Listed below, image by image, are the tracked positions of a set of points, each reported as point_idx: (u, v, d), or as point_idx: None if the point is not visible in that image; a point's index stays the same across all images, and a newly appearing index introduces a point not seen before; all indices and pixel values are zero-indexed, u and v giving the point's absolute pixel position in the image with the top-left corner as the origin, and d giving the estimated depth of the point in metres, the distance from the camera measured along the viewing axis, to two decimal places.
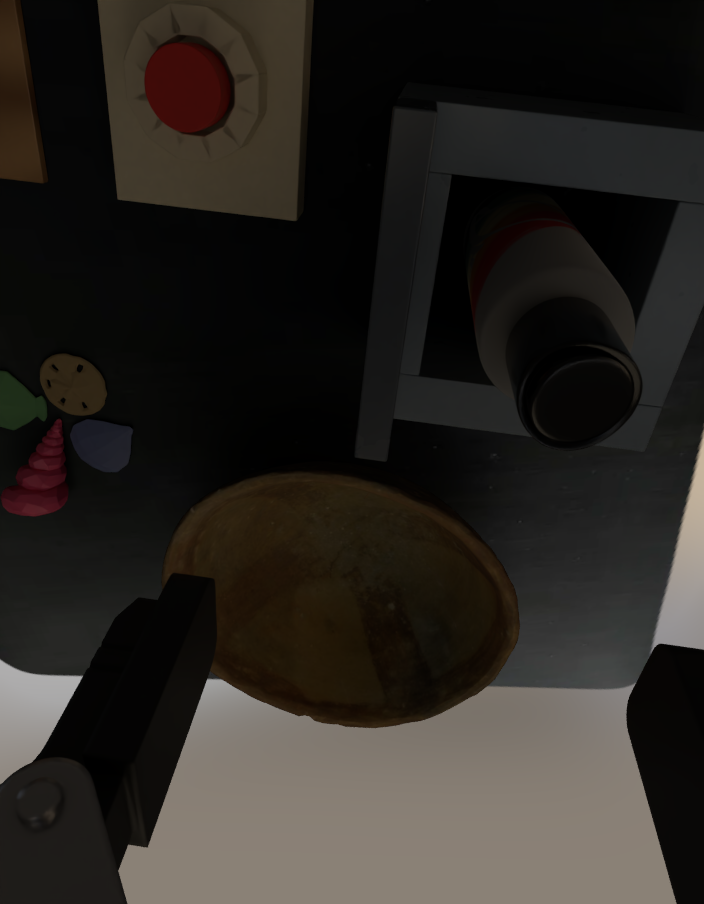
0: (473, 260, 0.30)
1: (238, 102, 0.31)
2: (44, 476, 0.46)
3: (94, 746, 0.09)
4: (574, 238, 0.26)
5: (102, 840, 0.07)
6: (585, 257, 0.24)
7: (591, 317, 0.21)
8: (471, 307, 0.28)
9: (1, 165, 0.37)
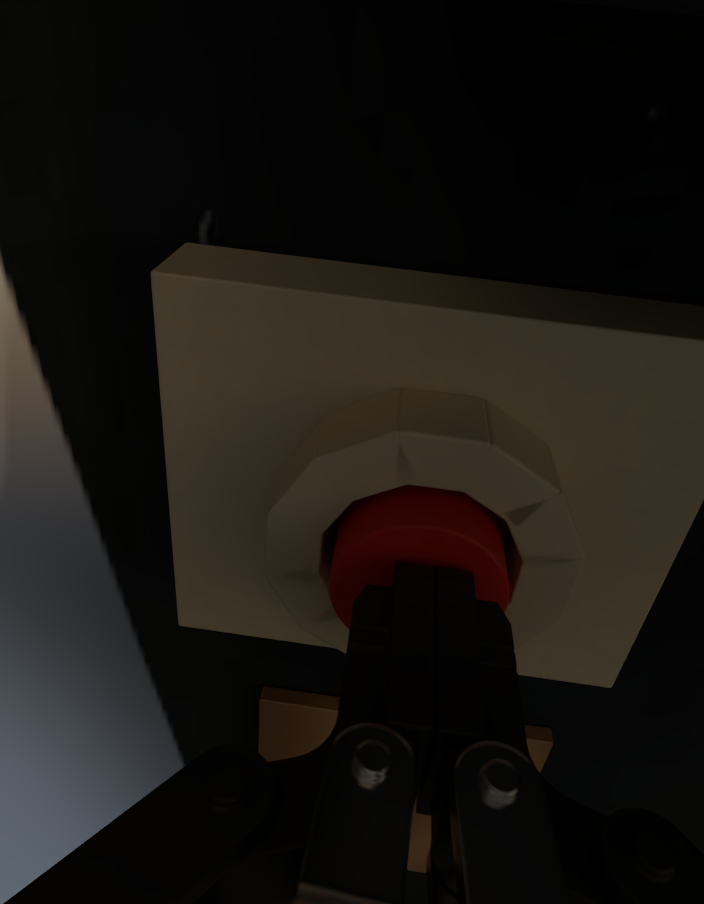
0: None
1: (456, 483, 0.12)
2: None
3: (393, 716, 0.09)
4: None
5: (404, 830, 0.08)
6: None
7: None
8: None
9: None
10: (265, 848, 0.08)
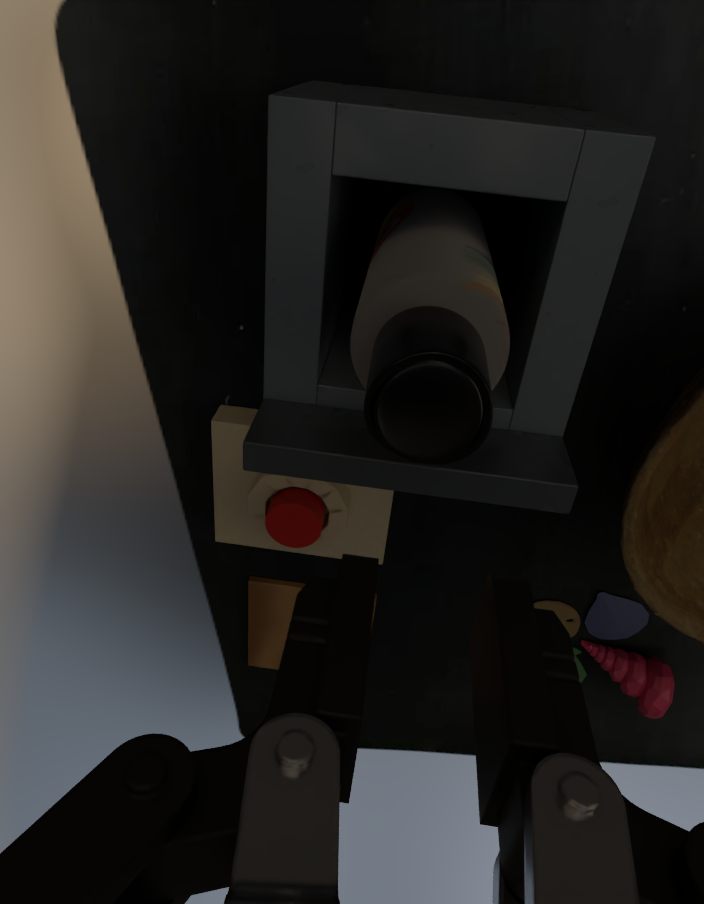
0: None
1: (304, 485, 0.40)
2: (631, 677, 0.48)
3: (322, 706, 0.09)
4: (365, 282, 0.26)
5: (333, 812, 0.08)
6: (356, 311, 0.24)
7: (370, 367, 0.21)
8: None
9: None
10: (191, 828, 0.08)
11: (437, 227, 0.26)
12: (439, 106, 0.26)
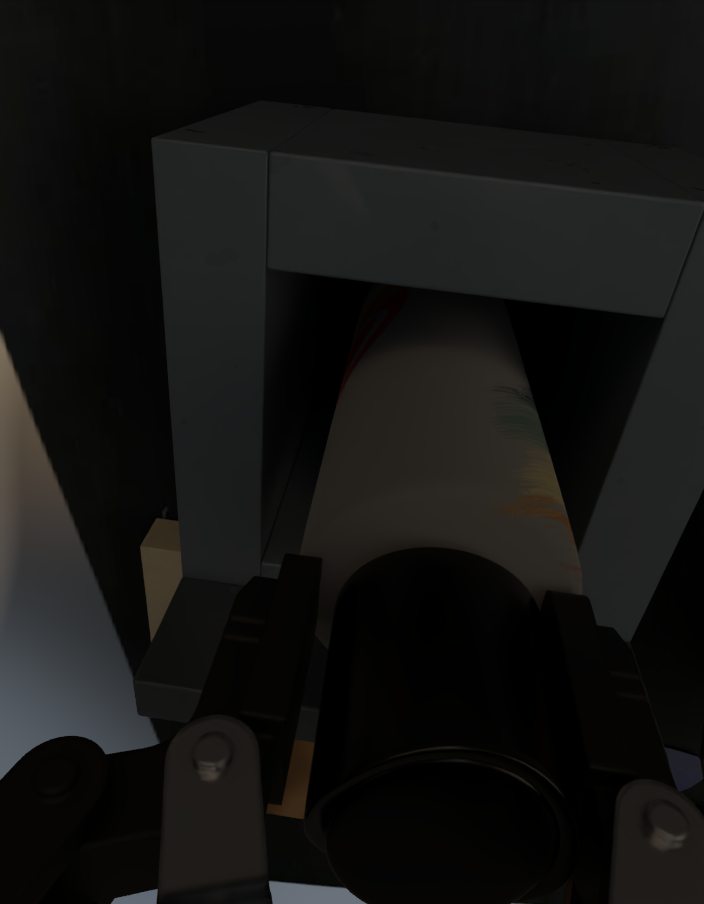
0: None
1: None
2: None
3: (247, 707, 0.09)
4: (329, 435, 0.16)
5: (257, 807, 0.08)
6: (309, 513, 0.14)
7: (324, 681, 0.11)
8: None
9: None
10: (110, 822, 0.08)
11: (446, 347, 0.16)
12: (447, 152, 0.16)
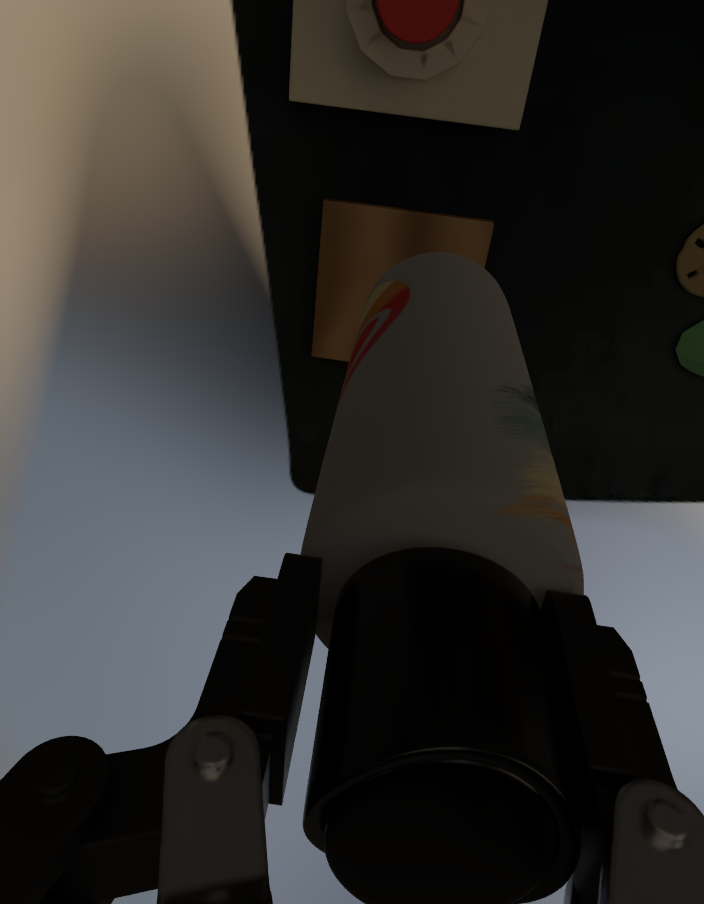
0: None
1: None
2: None
3: (248, 707, 0.09)
4: (331, 435, 0.16)
5: (257, 807, 0.08)
6: (310, 512, 0.14)
7: (324, 681, 0.11)
8: None
9: (474, 261, 0.39)
10: (110, 822, 0.08)
11: (448, 346, 0.16)
12: None
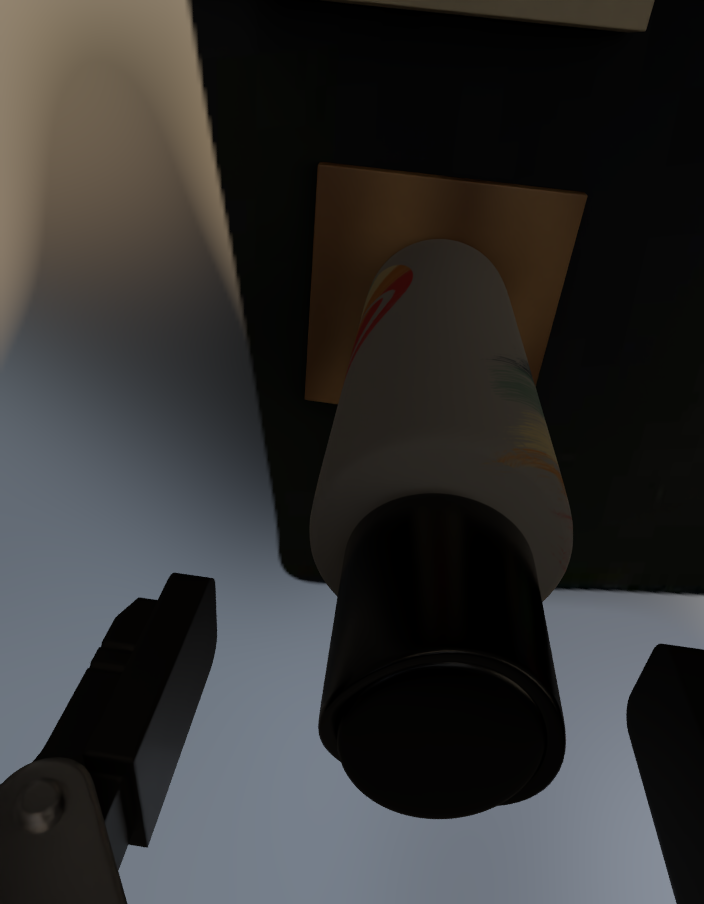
0: None
1: None
2: None
3: (94, 746, 0.09)
4: (339, 403, 0.17)
5: (102, 840, 0.07)
6: (321, 470, 0.15)
7: (336, 611, 0.12)
8: None
9: (552, 257, 0.25)
10: None
11: (449, 321, 0.17)
12: None
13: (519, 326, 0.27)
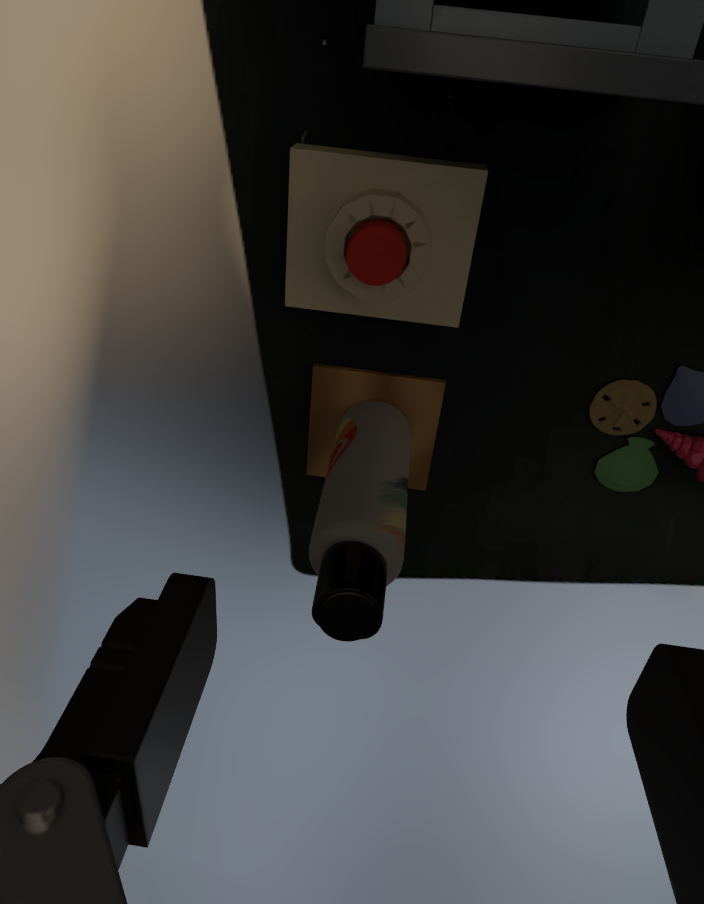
0: None
1: (388, 213, 0.39)
2: None
3: (94, 746, 0.09)
4: (321, 498, 0.42)
5: (102, 840, 0.07)
6: (313, 529, 0.39)
7: None
8: None
9: (431, 409, 0.49)
10: None
11: (366, 464, 0.42)
12: None
13: (418, 440, 0.51)
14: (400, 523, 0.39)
